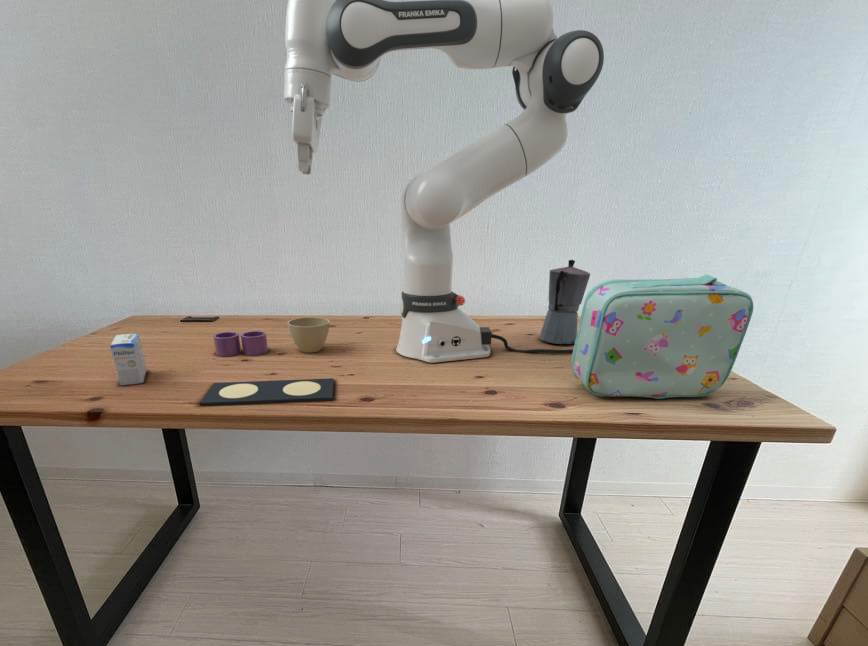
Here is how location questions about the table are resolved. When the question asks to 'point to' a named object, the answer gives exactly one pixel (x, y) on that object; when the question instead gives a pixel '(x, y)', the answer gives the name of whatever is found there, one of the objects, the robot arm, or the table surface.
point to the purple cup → (254, 343)
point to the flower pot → (309, 333)
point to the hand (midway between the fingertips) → (304, 173)
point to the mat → (269, 392)
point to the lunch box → (659, 337)
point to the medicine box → (128, 359)
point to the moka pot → (564, 304)
